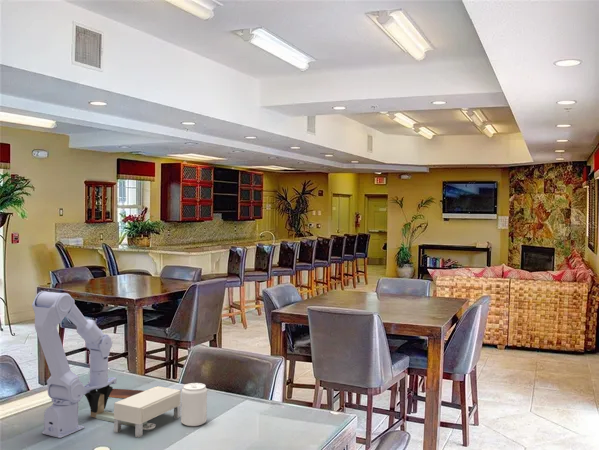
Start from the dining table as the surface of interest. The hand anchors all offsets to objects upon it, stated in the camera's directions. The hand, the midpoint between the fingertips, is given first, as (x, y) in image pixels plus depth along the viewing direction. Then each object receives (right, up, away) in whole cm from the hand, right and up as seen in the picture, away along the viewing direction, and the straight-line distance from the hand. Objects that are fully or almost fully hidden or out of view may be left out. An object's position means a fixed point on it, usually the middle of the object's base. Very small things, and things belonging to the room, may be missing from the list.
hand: (98, 410), depth 185 cm
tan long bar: (+8, -2, -4) cm, 9 cm away
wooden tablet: (+3, -3, +23) cm, 24 cm away
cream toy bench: (+19, -2, -7) cm, 20 cm away
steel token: (+19, -3, -9) cm, 21 cm away
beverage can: (+33, -3, -4) cm, 33 cm away
